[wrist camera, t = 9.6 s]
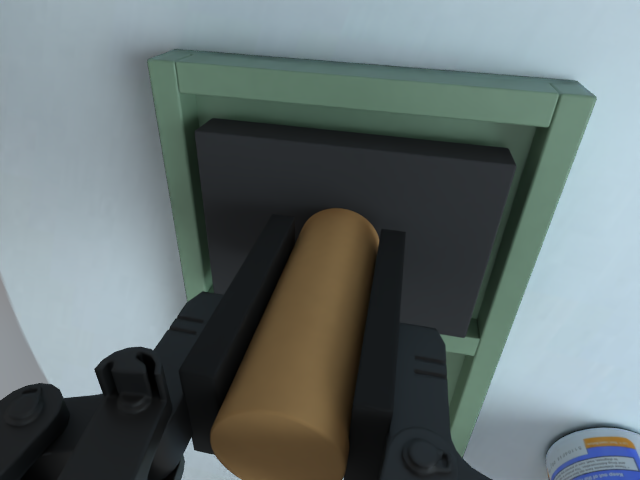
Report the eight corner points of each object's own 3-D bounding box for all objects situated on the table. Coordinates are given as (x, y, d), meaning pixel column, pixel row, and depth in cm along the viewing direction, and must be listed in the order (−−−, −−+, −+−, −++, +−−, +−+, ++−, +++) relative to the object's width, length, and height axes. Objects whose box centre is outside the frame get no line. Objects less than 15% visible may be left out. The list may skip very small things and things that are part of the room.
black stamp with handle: (211, 116, 15) (-11, 279, 8) (509, 147, 14) (620, 387, 6) (227, 275, 19) (90, 494, 11) (462, 312, 18) (493, 593, 10)
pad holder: (174, 48, 16) (145, 58, 14) (577, 80, 14) (598, 96, 12) (222, 405, 27) (208, 434, 25) (450, 451, 25) (452, 486, 23)
